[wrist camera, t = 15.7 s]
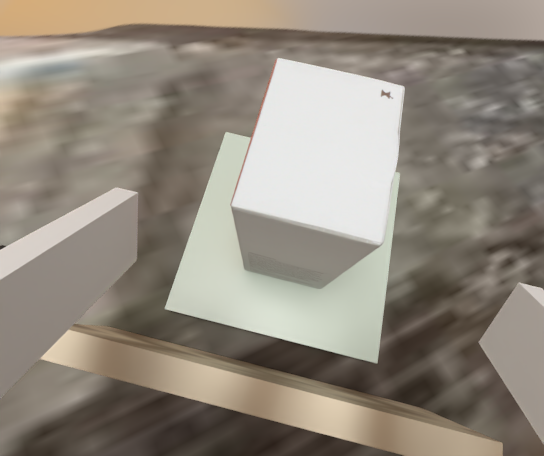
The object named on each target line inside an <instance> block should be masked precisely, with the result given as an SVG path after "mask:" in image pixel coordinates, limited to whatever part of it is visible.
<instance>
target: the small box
mask: <svg viewBox="0 0 544 456" xmlns="http://www.w3.org/2000/svg"><path fill="white" fill-rule="evenodd" d="M404 92H405V87H404V86H400V85H396V84H393V83H389V82H385V81H381V80H377V79H373V78H369V77H364V76H360V75H356V74H351V73H347V72H342V71H338V70H333V69H328V68H324V67H319V66H314V65H310V64H305V63H301V62H296V61H290V60H286V59H282V58H277V59H276V61H275V64H274V67H273V70H272V73H271V76H270V79H269V82H268V85H267V88H266V92H265V95H264V98H263V101H262V104H261V107H260V111H259V114H258V117H257V120H256V124H255V127H254V130H253V133H252V136H251V139H250V142H249V146H248V149H247V152H246V156H245V159H244V162H243V165H242V168H241V172H240V175H239V178H238V181H237V184H236V187H235V191H234V194H233V197H232V201H231V204H230V206H231V209H232V214H233V218H234V223H235V228H236V232H237V237H238V242H239V246H240V251H241V256H242V261H243V265H244V269H245V270H246V271H251V272H254V273H258V274H262V275H266V276H270V277H274V278H278V279H282V280H286V281H290V282H294V283H297V284H301V285H305V286H309V287H313V288H317V289H322V288H323V287H324V286H326V285H327V284H329V283H330V282H331V281H333V280H334V279H336V278H337V277H338V276H340V275H341V274H342V273H344V272H345V271H347V270H348V269H349V268H351V267H352V266H354V265H355V264H356V263H358V262H359V261H360V260H362V259H363V258H364V257H366V256H367V255H369V254H370V253H371V252H373V251H374V250H376V249H377V248H379V247H380V246H382V244H383V243H384V240H385V234H386V229H387V222H388V216H389V209H390V202H391V195H392V188H393V181H394V176H395V170H396V166H397V160H398V153H399V143H400V126H401V117H402V108H403V100H404Z"/></svg>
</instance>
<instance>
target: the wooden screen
mask: <svg viewBox="0 0 544 456" xmlns="http://www.w3.org/2000/svg"><path fill="white" fill-rule="evenodd" d="M40 359H42V360H46V361H50V362H54V363H58V364H61V365H65V366H69V367H73V368H76V369H80V370H84V371H88V372H91V373H95V374H99V375H103V376H107V377H110V378H114V379H118V380H122V381H125V382H129V383H133V384H137V385H140V386H144V387H148V388H152V389H156V390H159V391H163V392H167V393H171V394H174V395H178V396H182V397H186V398H189V399H193V400H197V401H201V402H205V403H208V404H212V405H216V406H220V407H223V408H227V409H231V410H235V411H238V412H242V413H246V414H250V415H254V416H257V417H261V418H265V419H269V420H272V421H276V422H280V423H284V424H287V425H291V426H295V427H299V428H303V429H306V430H310V431H314V432H318V433H321V434H325V435H329V436H333V437H336V438H340V439H344V440H348V441H352V442H355V443H359V444H363V445H367V446H370V447H374V448H378V449H382V450H385V451H389V452H393V453H397V454H401V455H404V456H503V443H501V442H499V441H497V440H494V439H492V438H490V437H487V436H485V435H483V434H481V433H478V432H476V431H474V430H471V429H469V428H467V427H464V426H462V425H460V424H458V423H455V422H453V421H451V420H448V419H446V418H444V417H441V416H439V415H437V414H435V413H432V412H430V411H428V410H425V409H423V408H420V407H416V406H413V405H409V404H405V403H401V402H397V401H393V400H390V399H386V398H382V397H378V396H374V395H370V394H366V393H363V392H359V391H355V390H351V389H347V388H343V387H340V386H336V385H332V384H328V383H324V382H320V381H316V380H313V379H309V378H305V377H301V376H297V375H293V374H289V373H286V372H282V371H278V370H274V369H270V368H266V367H263V366H259V365H255V364H251V363H247V362H243V361H239V360H236V359H232V358H228V357H224V356H220V355H216V354H213V353H209V352H205V351H201V350H197V349H193V348H189V347H186V346H182V345H178V344H174V343H170V342H166V341H162V340H159V339H155V338H151V337H147V336H143V335H139V334H136V333H132V332H128V331H124V330H120V329H116V328H112V327H109V326H95V325H79V324H74V325H73V326H72V327H71V328H70V329H69V330H68V331H67V332H66V333H65V334H64V335H63V336H62V337H61V338H60V339H59V340H58V341H57V342H56V343H55V344H54V345H53V346H52V347H51V348H50V349H49V350H48V351H47V352H46V353H45V354H44V355H43V356H42V357H41V358H40Z"/></svg>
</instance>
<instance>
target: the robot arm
mask: <svg viewBox="0 0 544 456" xmlns="http://www.w3.org/2000/svg"><path fill="white" fill-rule="evenodd" d="M137 223H138V192H133V191H129V190H125V189H121V188H117V187H116V188H114V189H112V190H111V191H109V192H107V193H105V194H103V195H101V196H99V197H98V198H96V199H94V200H92V201H90V202H88V203H86V204H85V205H83V206H81V207H79V208H77V209H75V210H73V211H71V212H70V213H68V214H66V215H64V216H62V217H60V218H58V219H57V220H55V221H53V222H51V223H49V224H47V225H45V226H44V227H42V228H40V229H38V230H36V231H34V232H32V233H31V234H29V235H27V236H25V237H23V238H21V239H19V240H17V241H16V242H14V243H12V244H10V245H8V246H3V245H2V246H0V399H1V398H2V397H3V396H4V395H5V394H6V393H7V392H8V390H9V389H10V388H11V387H12V386H13V385H14V384H15V383H16V382H17V381H18V380H19V379H20V378H21V377H22V376H23V375H24V374H25V373H26V372H27V371H28V370H29V369H30V368H31V367H32V366H33V365H34V364H35V363H36V362H37V361H38V360H39V359H40V358H41V357H42V356H43V355H44V354H45V353H46V352H47V351H48V350H49V349H50V348H51V347H52V346H53V345H54V344H55V343H56V342H57V341H58V340H59V339H60V338H61V337H62V336H63V335H64V334H65V333H66V332H67V331H68V330H69V329H70V328H71V327H72V326H73V325H74V324H75V322H76V321H77V320H78V319H79V318H80V317H81V316H82V315H83V314H84V313H85V312H86V311H87V310H88V309H89V308H90V307H91V306H92V305H93V304H94V303H95V302H96V301H97V300H98V299H99V298H100V297H101V296H102V295H103V294H104V293H105V292H106V291H107V290H108V289H109V288H110V287H111V286H112V285H113V284H114V283H115V282H116V281H117V280H118V279H119V278H120V277H121V276H122V275H123V274H124V273H125V272H126V271H127V270H128V269H129V268H130V267H131V266H132V265H133V264H134V263H135V262H136V261H137ZM479 344H480V346H481V347H482V349H483V350H484V352H485V353H486V355H487V357H488V358H489V360H490V361H491V363H492V364H493V366H494V367H495V369H496V371H497V372H498V374H499V375H500V377H501V378H502V380H503V382H504V383H505V385H506V386H507V388H508V389H509V391H510V392H511V394H512V396H513V397H514V399H515V400H516V402H517V403H518V405H519V407H520V408H521V410H522V411H523V413H524V414H525V416H526V418H527V419H528V421H529V422H530V424H531V425H532V427H533V428H534V430H535V432H536V433H537V435H538V436H539V438H540V439H541V441H542V443H543V444H544V290H543V289H542V288H539V287H535V286H531V285H526V284H522V283H518V284H517V286H516V287H515V289H514V290H513V292H512V293H511V295H510V296H509V298H508V299H507V301H506V302H505V304H504V305H503V307H502V308H501V310H500V311H499V313H498V314H497V316H496V317H495V319H494V320H493V321H492V323H491V324H490V326H489V327H488V329H487V330H486V332H485V333H484V335H483V336H482V338H481V339H480V341H479Z"/></svg>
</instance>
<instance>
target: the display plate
mask: <svg viewBox="0 0 544 456" xmlns="http://www.w3.org/2000/svg"><path fill="white" fill-rule="evenodd" d="M250 139H251V138H249V137H245V136H241V135H236V134H232V133H228V132H226V133H225V136H224V139H223V142H222V145H221V148H220V151H219V153H218V156H217V159H216V162H215V165H214V168H213V171H212V174H211V177H210V179H209V182H208V185H207V188H206V191H205V194H204V197H203V200H202V202H201V205H200V208H199V211H198V214H197V217H196V220H195V223H194V226H193V228H192V231H191V234H190V237H189V240H188V243H187V246H186V249H185V251H184V254H183V257H182V260H181V263H180V266H179V269H178V272H177V275H176V277H175V280H174V283H173V286H172V289H171V292H170V295H169V298H168V300H167V303H166V306H165V309H166V310H170V311H174V312H178V313H182V314H186V315H189V316H193V317H197V318H201V319H205V320H209V321H213V322H217V323H221V324H225V325H228V326H232V327H236V328H240V329H244V330H248V331H252V332H256V333H260V334H263V335H267V336H271V337H275V338H279V339H283V340H287V341H291V342H295V343H299V344H302V345H306V346H310V347H314V348H318V349H322V350H326V351H330V352H334V353H338V354H341V355H345V356H349V357H353V358H357V359H361V360H365V361H369V362H373V363H378V354H379V346H380V337H381V329H382V321H383V312H384V304H385V295H386V287H387V279H388V270H389V262H390V253H391V245H392V237H393V228H394V220H395V211H396V203H397V194H398V186H399V178H400V173H397V172H395V176H394V181H393V188H392V195H391V202H390V209H389V216H388V222H387V229H386V234H385V240H384V243H383V244H382V246H380V247H379V248H377V249H376V250H374V251H373V252H371V253H370V254H369V255H367V256H366V257H364V258H363V259H362V260H360V261H359V262H358V263H356V264H355V265H354V266H352V267H351V268H349V269H348V270H347V271H345V272H344V273H342V274H341V275H340V276H338V277H337V278H336V279H334V280H333V281H331V282H330V283H329V284H327V285H326V286H324V287H323V288H322V289H317V288H313V287H309V286H305V285H301V284H297V283H294V282H290V281H286V280H282V279H278V278H274V277H270V276H266V275H262V274H258V273H254V272H251V271H246V270H245V269H244V265H243V261H242V256H241V251H240V246H239V242H238V237H237V232H236V228H235V223H234V218H233V214H232V209H231V206H230V204H231V201H232V197H233V194H234V191H235V187H236V184H237V181H238V178H239V175H240V172H241V168H242V165H243V162H244V159H245V156H246V152H247V149H248V146H249V142H250Z"/></svg>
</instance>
